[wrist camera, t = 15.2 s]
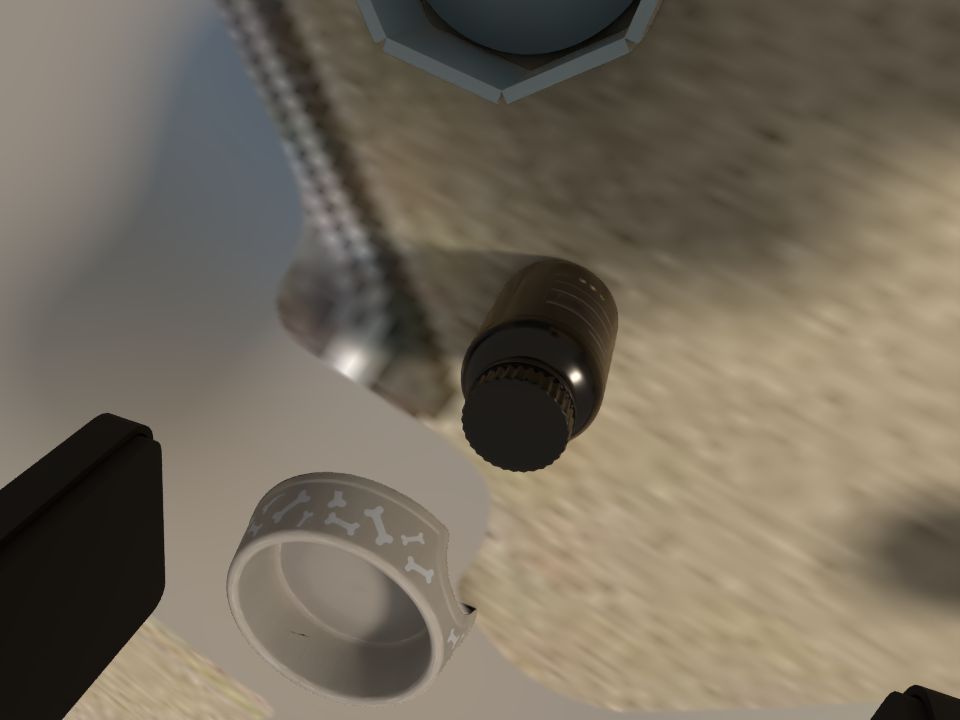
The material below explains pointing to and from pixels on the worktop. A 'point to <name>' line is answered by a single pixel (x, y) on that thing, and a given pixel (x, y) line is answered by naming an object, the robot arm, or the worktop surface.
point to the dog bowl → (347, 589)
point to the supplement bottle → (538, 365)
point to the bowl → (504, 39)
